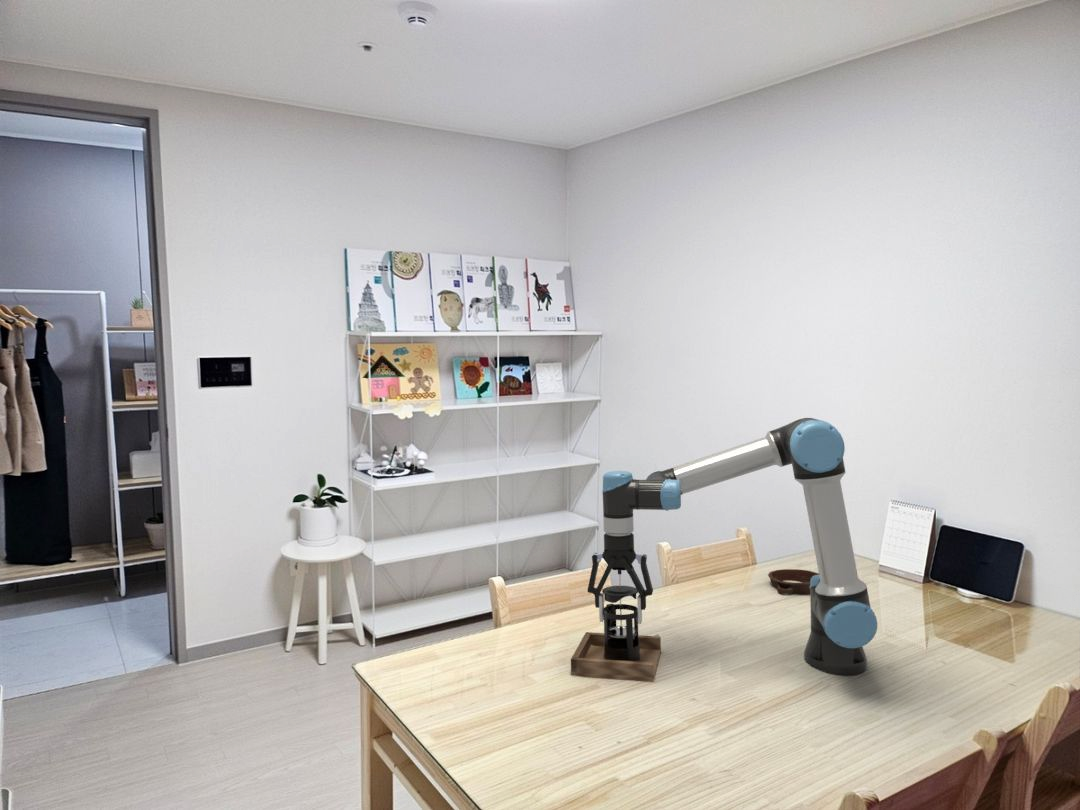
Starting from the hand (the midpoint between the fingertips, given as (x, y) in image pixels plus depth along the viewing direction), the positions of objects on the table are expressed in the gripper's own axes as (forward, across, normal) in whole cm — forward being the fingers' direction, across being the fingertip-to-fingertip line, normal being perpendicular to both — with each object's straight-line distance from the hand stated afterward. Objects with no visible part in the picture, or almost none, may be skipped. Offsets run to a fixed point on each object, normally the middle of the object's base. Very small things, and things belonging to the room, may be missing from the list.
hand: (620, 621), depth 190 cm
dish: (+11, -48, -75) cm, 90 cm away
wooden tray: (+11, +1, 0) cm, 11 cm away
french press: (+9, 0, 0) cm, 9 cm away
